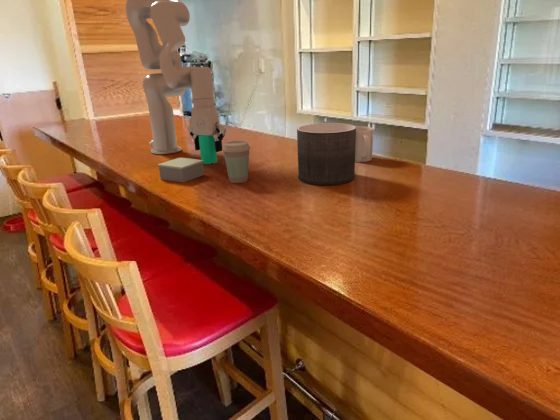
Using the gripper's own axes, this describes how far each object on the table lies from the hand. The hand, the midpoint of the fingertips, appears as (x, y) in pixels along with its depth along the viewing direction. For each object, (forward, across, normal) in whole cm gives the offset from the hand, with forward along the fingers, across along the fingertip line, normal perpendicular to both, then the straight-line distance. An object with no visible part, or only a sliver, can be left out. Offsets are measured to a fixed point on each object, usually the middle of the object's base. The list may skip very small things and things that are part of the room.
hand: (208, 150), depth 157 cm
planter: (+6, +49, -2) cm, 49 cm away
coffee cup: (+5, +25, -16) cm, 30 cm away
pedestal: (+5, +5, -20) cm, 21 cm away
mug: (+5, +50, +24) cm, 55 cm away
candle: (+5, 0, 0) cm, 5 cm away
